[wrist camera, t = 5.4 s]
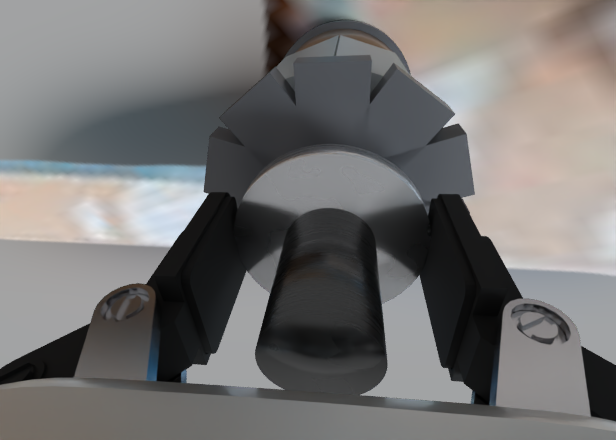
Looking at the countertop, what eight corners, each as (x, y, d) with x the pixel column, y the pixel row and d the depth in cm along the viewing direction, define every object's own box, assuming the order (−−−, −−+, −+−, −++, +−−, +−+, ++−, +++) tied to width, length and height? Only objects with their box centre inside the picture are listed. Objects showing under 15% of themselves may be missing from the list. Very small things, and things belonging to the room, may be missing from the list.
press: (420, 16, 22) (510, 55, 10) (401, 179, 28) (440, 329, 16) (268, 23, 23) (172, 67, 11) (283, 179, 29) (235, 318, 17)
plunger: (403, 77, 16) (508, 259, 5) (392, 191, 19) (442, 442, 9) (275, 80, 17) (142, 249, 6) (286, 190, 20) (212, 422, 9)
